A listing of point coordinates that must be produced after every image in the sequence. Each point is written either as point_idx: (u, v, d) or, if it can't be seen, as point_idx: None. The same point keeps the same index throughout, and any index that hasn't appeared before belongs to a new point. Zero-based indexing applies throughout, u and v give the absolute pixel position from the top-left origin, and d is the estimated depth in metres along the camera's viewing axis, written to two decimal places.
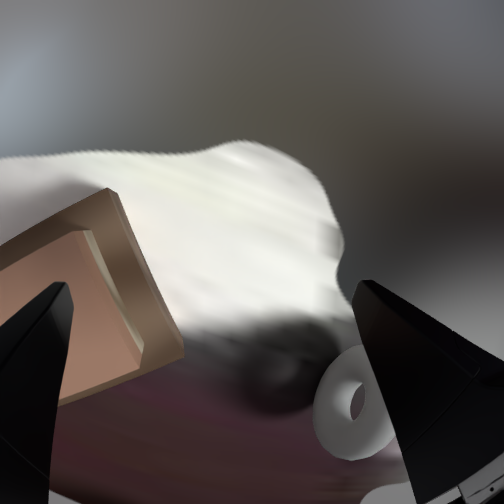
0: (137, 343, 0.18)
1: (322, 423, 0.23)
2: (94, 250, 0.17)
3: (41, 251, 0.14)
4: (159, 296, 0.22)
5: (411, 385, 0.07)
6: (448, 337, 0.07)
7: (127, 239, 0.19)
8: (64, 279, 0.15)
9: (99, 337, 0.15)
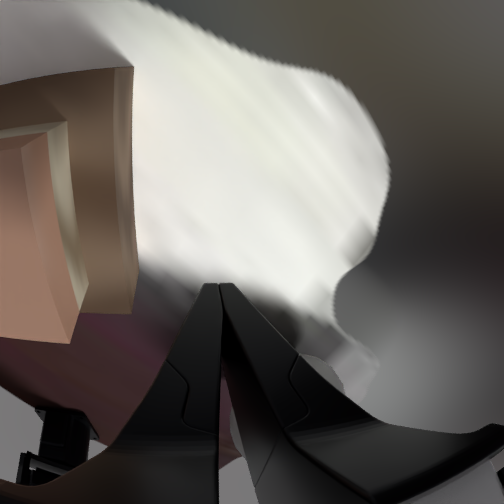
0: (78, 295, 0.13)
1: None
2: (57, 160, 0.10)
3: None
4: (130, 224, 0.16)
5: (246, 414, 0.06)
6: (283, 363, 0.06)
7: (113, 154, 0.12)
8: None
9: (27, 297, 0.10)
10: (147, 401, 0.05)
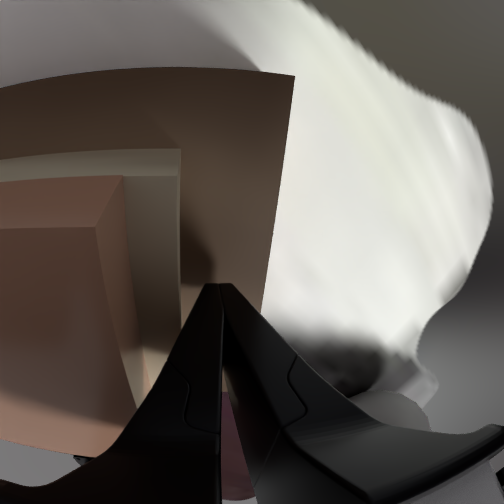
0: None
1: None
2: (178, 219, 0.07)
3: None
4: None
5: (245, 414, 0.06)
6: (281, 363, 0.06)
7: (274, 206, 0.09)
8: (39, 332, 0.05)
9: (100, 427, 0.06)
10: (149, 401, 0.05)
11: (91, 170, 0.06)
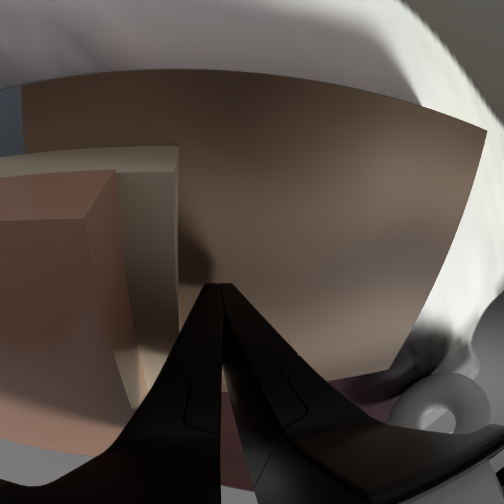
0: None
1: None
2: (175, 216, 0.07)
3: None
4: None
5: (245, 414, 0.06)
6: (282, 363, 0.06)
7: (459, 218, 0.10)
8: (31, 326, 0.05)
9: (94, 425, 0.06)
10: (148, 401, 0.05)
11: (89, 167, 0.06)
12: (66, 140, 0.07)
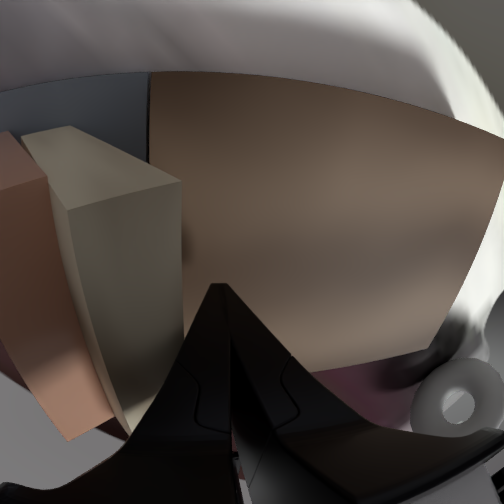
0: None
1: (428, 415, 0.23)
2: (122, 268, 0.05)
3: None
4: None
5: (239, 415, 0.06)
6: (275, 364, 0.06)
7: (490, 214, 0.12)
8: None
9: None
10: (159, 401, 0.05)
11: (66, 173, 0.05)
12: (198, 132, 0.08)
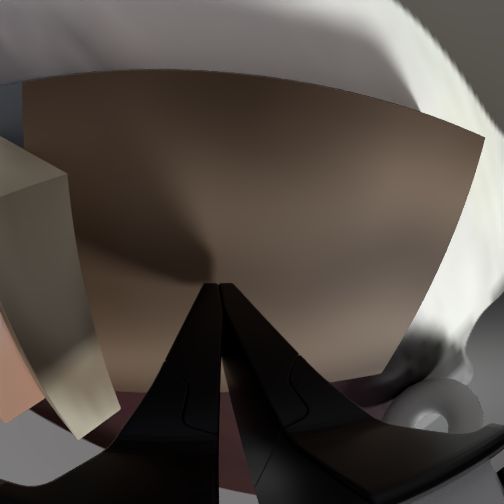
0: (79, 426, 0.08)
1: None
2: (23, 257, 0.05)
3: None
4: None
5: (246, 414, 0.06)
6: (283, 363, 0.06)
7: (455, 224, 0.10)
8: None
9: None
10: (147, 401, 0.05)
11: None
12: (65, 138, 0.07)
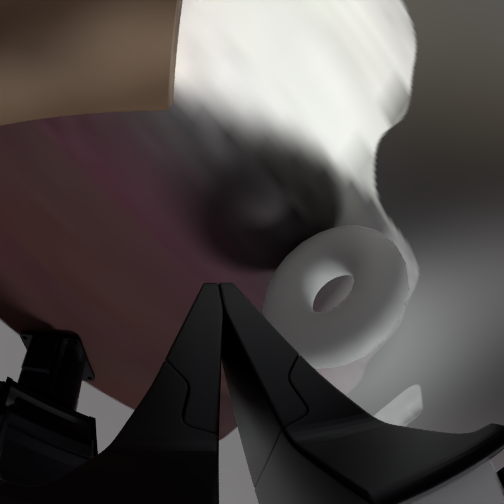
0: None
1: (279, 295, 0.20)
2: None
3: None
4: (176, 35, 0.13)
5: (246, 414, 0.06)
6: (283, 363, 0.06)
7: None
8: None
9: None
10: (147, 401, 0.05)
11: None
12: None
